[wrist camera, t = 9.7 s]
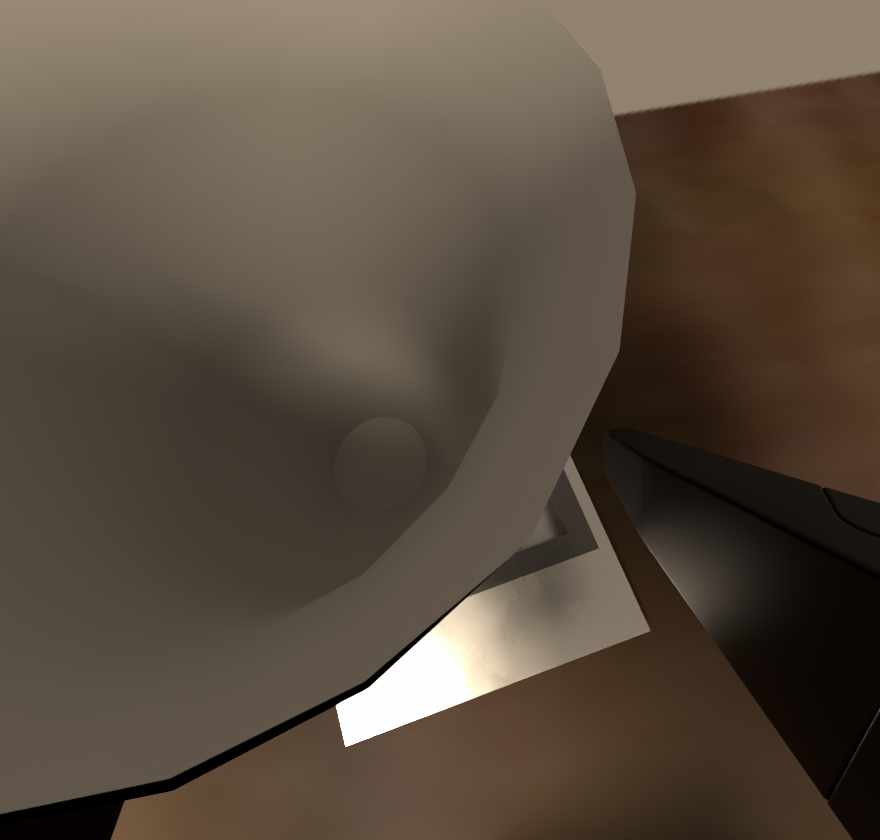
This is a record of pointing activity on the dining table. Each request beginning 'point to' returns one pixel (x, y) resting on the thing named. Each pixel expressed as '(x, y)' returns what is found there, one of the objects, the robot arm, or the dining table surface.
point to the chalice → (276, 355)
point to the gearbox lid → (512, 621)
